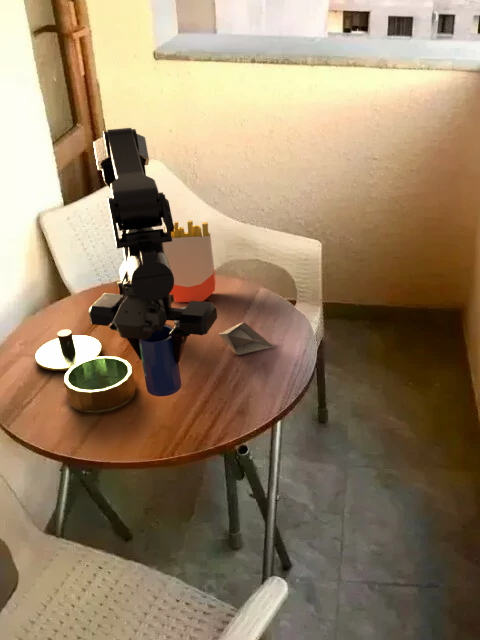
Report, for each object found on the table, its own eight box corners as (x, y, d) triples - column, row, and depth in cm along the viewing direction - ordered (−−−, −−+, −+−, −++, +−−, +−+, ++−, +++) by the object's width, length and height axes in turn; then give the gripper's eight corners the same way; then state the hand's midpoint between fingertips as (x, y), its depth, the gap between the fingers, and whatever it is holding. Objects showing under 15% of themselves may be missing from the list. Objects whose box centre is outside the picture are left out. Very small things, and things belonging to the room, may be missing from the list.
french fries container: (167, 293, 160) (156, 215, 150) (216, 291, 161) (209, 213, 151) (165, 303, 156) (154, 223, 146) (215, 300, 157) (208, 221, 147)
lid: (71, 334, 145) (66, 311, 142) (115, 350, 140) (111, 327, 137) (23, 362, 136) (16, 338, 134) (67, 380, 131) (61, 356, 128)
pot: (103, 371, 134) (99, 350, 131) (148, 388, 129) (145, 367, 126) (55, 401, 126) (50, 379, 123) (102, 421, 121) (97, 399, 118)
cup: (162, 373, 121) (155, 321, 116) (188, 383, 119) (182, 330, 113) (139, 390, 117) (130, 336, 112) (165, 400, 115) (157, 346, 109)
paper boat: (255, 326, 145) (287, 330, 138) (249, 358, 144) (281, 363, 138) (209, 314, 136) (241, 317, 130) (202, 348, 136) (234, 353, 129)
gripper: (62, 289, 102) (82, 382, 110) (188, 301, 98) (199, 395, 107) (97, 257, 111) (114, 345, 119) (214, 267, 108) (222, 356, 116)
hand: (160, 360), depth 115 cm, fingers closed on cup, 6 cm apart
